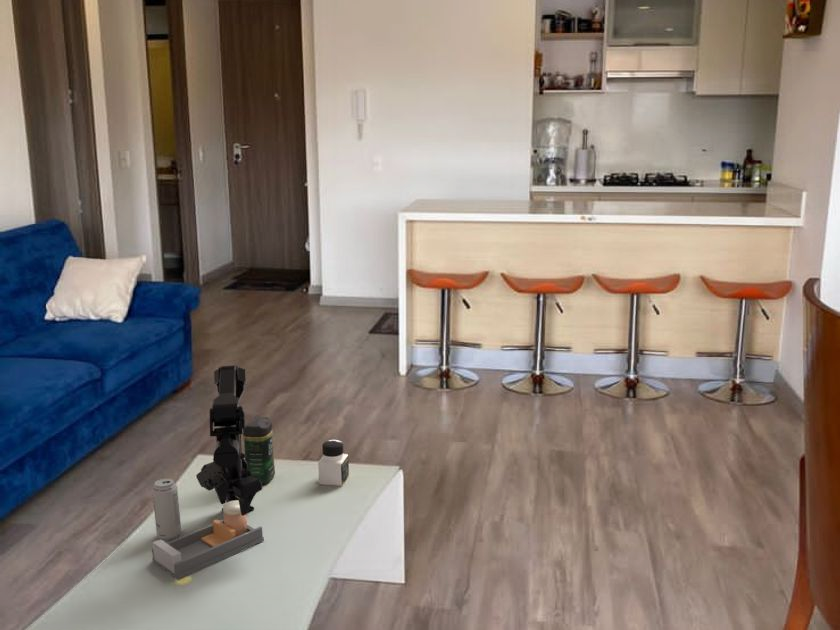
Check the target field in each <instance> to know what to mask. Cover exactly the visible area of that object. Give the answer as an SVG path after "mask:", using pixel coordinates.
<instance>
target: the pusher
mask: <svg viewBox="0 0 840 630" xmlns="http://www.w3.org/2000/svg"><path fill="white" fill-rule="evenodd" d="M220 521H221V520H219V519H215V520H213V521H212V524H213V531H214V533H212V534H210V535H208V536H205V537H203V538H201V540H202V541H204V542H205V543H207V544H208V545H210V546H211V547H214V546H216V545H219V544H221V543H223V542H226V541H228V540H230V539H233V538H235V537H236V530H234V529H232V528H231V527H229V526H227V525H226V524H224V523H222V522H220Z"/></svg>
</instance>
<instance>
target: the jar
mask: <svg viewBox="0 0 840 630" xmlns="http://www.w3.org/2000/svg"><path fill="white" fill-rule="evenodd" d="M222 508H223V511H222V513H223V519H224V524H226V525H227V526H229V527H231V528H232V529H234V530H236V537H237V536H239V535H242V534H244V533H246V532H248V530H247V525H248V518H247V514H246V515H244V516H242V515H241V511H240V505H239V500H235V501H230V502H227V503H225V504H222Z"/></svg>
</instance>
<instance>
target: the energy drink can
mask: <svg viewBox="0 0 840 630" xmlns="http://www.w3.org/2000/svg"><path fill="white" fill-rule="evenodd" d="M153 484H154V486H153V487H152V499H153V500H152V502H153V508H154V509H153V510H154V521H155V522H154V523H155V530H156V531H155V532H156V536H157V537H158V539H159V540H160V539H161V540H162V541H164V542H170V541H172V540H175V539H177V538H179V536H180V534H181V533H182V525H181V524H182V523H181V514H180V513H181V511H180V502H179V491H178V485H177V484H176V482H175V479H174V478H171V477H164V478H159V479H157V480H155V482H154V483H153Z"/></svg>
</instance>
